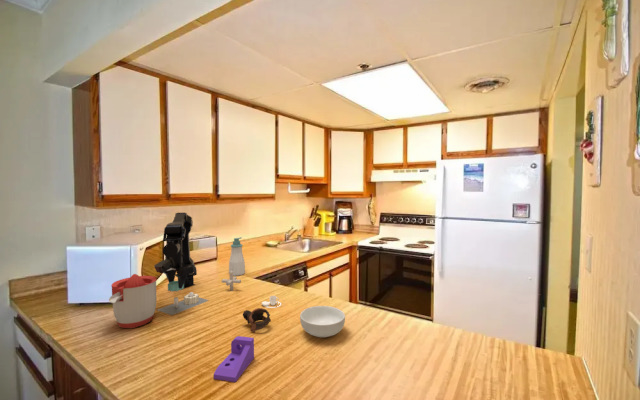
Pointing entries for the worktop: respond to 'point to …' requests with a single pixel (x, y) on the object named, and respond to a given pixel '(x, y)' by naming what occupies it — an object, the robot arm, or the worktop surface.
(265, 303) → the teacup and saucer
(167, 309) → the gear board
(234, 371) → the bracket
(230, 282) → the pipe connector
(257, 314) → the pottery mug
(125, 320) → the citrus juicer
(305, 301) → the worktop surface
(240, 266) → the soap bottle
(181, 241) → the robot arm
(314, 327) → the cereal bowl
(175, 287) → the teal gear
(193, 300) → the cream gear
